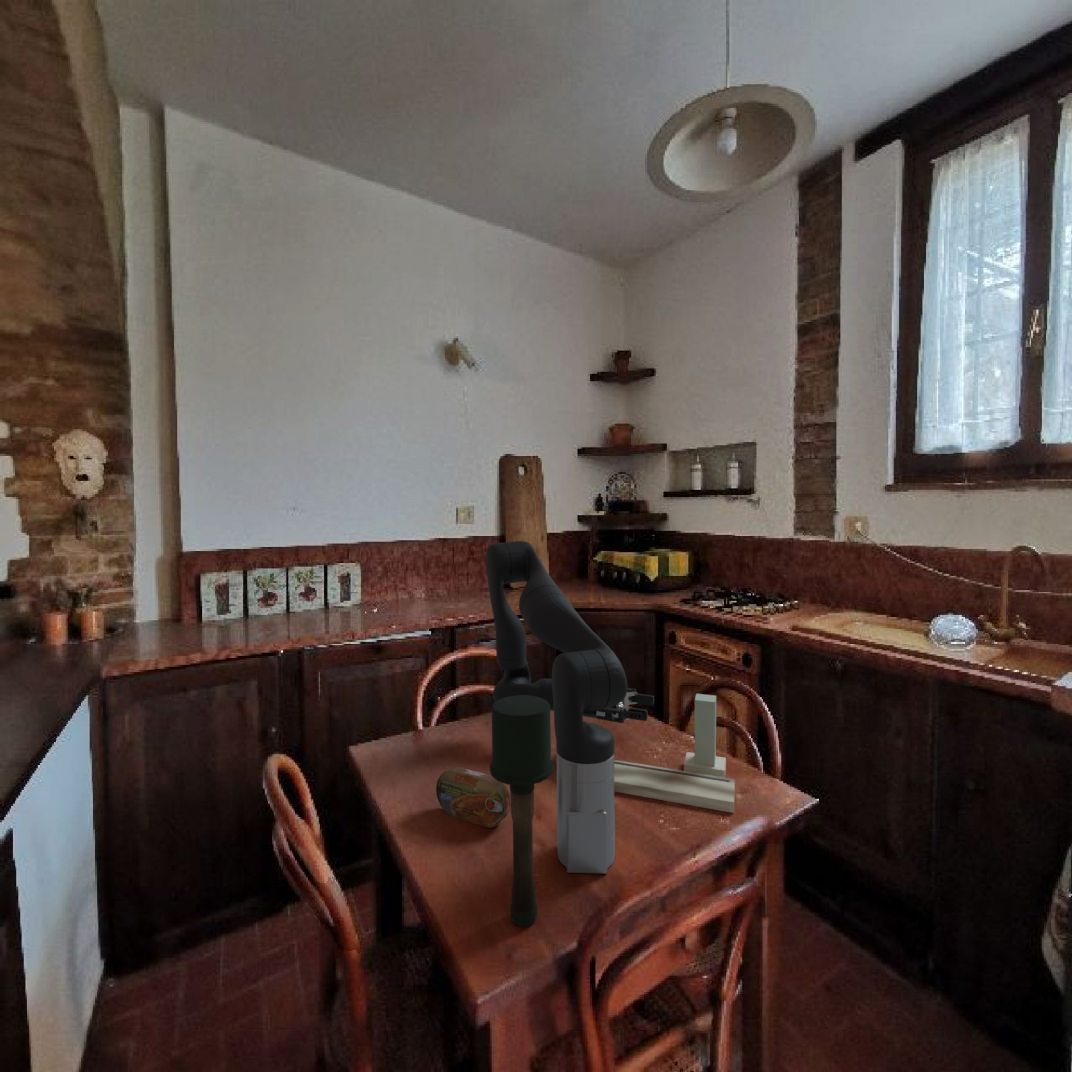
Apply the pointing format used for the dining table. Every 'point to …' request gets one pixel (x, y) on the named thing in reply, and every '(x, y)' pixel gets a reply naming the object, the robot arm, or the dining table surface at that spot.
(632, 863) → the dining table surface
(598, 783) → the robot arm
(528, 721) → the stick grenade
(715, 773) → the grey pillar on base
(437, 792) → the tin
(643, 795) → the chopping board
